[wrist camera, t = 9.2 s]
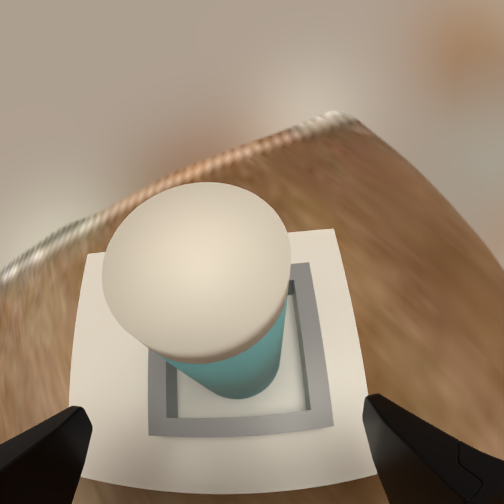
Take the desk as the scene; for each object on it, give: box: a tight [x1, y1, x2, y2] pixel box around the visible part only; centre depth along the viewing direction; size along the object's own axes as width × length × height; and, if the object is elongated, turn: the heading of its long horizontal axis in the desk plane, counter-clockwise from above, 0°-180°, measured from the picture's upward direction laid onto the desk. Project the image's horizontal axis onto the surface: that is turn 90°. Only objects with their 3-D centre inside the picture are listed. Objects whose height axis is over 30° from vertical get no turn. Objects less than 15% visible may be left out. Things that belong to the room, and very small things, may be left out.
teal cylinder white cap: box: [102, 182, 291, 399], centre depth 12 cm, size 5×5×11 cm
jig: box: [69, 229, 377, 494], centre depth 16 cm, size 16×18×3 cm
